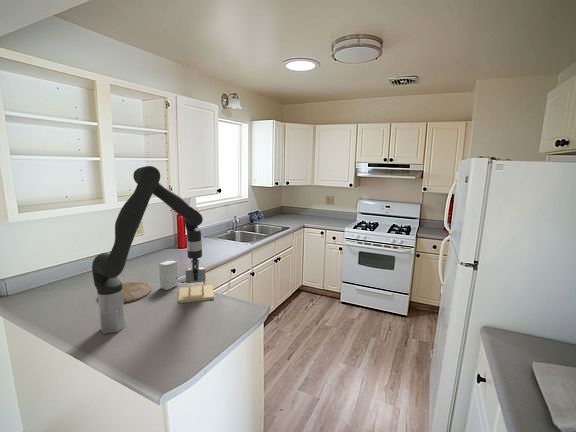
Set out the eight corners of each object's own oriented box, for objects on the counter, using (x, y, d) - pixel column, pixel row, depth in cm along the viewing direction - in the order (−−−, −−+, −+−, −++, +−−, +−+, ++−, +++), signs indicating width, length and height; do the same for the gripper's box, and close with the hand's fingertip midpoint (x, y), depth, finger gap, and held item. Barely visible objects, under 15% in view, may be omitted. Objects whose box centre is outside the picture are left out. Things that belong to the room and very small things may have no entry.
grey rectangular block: (205, 281, 164) (205, 269, 162) (186, 283, 161) (185, 270, 159) (205, 278, 167) (204, 266, 166) (186, 280, 164) (185, 268, 163)
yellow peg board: (214, 299, 160) (213, 292, 160) (178, 303, 155) (178, 295, 154) (212, 287, 176) (212, 280, 175) (179, 290, 170) (179, 283, 170)
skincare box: (166, 290, 170) (165, 265, 167) (159, 288, 173) (158, 263, 170) (178, 285, 177) (177, 261, 175) (171, 283, 180) (170, 259, 178)
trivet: (93, 293, 165) (93, 290, 164) (141, 281, 182) (141, 278, 182) (107, 310, 147) (106, 306, 147) (158, 294, 165) (158, 291, 165)
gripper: (202, 251, 155) (203, 283, 158) (201, 244, 168) (202, 273, 171) (187, 252, 153) (188, 284, 156) (187, 245, 166) (188, 274, 169)
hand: (195, 278), depth 164 cm, fingers closed on grey rectangular block, 4 cm apart
